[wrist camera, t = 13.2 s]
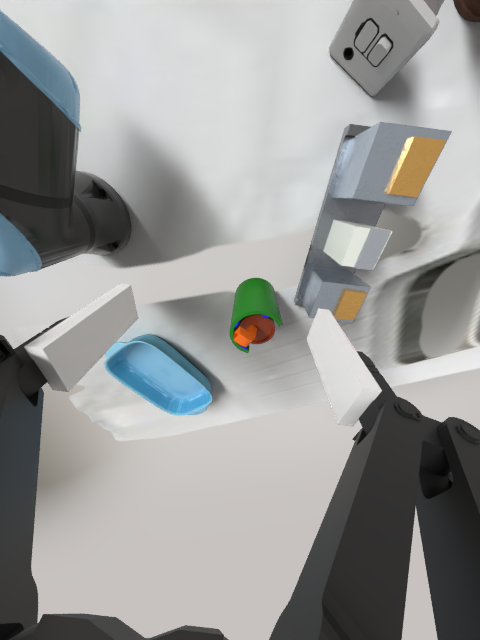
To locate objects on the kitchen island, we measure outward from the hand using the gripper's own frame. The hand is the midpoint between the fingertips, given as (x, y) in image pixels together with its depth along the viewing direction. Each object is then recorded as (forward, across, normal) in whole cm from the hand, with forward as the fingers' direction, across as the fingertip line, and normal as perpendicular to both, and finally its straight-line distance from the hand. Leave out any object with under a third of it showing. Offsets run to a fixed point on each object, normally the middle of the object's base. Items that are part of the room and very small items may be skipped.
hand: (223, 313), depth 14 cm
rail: (+33, +20, +2) cm, 38 cm away
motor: (+33, +4, -14) cm, 36 cm away
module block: (+31, +20, +2) cm, 37 cm away
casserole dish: (+33, -21, -45) cm, 60 cm away
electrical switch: (+33, +14, +26) cm, 44 cm away
